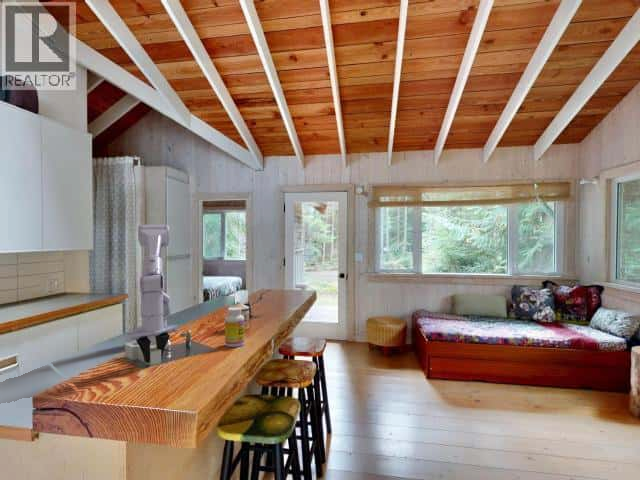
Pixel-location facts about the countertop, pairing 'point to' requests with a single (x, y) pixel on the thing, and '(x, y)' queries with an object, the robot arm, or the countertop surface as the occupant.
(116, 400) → the countertop surface
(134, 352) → the link
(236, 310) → the supplement bottle
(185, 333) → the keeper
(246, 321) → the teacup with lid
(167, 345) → the silver calibration weight
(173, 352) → the base plate
